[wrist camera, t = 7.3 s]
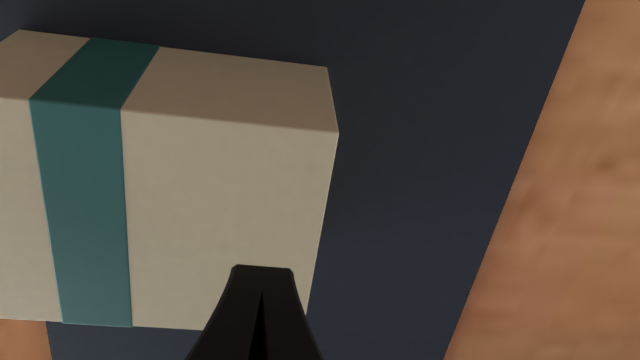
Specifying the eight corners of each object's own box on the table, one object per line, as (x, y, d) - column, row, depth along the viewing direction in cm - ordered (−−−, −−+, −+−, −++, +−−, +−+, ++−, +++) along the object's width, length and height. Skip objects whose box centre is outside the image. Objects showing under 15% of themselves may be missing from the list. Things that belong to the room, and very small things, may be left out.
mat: (602, -57, 15) (607, -55, 15) (427, 390, 26) (428, 395, 25) (-34, -159, 13) (-41, -160, 13) (57, 370, 24) (54, 376, 23)
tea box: (339, 132, 12) (-72, 88, 11) (301, 338, 16) (-13, 319, 15) (327, 65, 16) (19, 27, 15) (299, 243, 20) (48, 223, 19)
